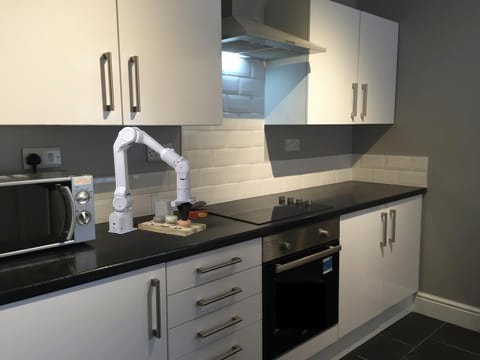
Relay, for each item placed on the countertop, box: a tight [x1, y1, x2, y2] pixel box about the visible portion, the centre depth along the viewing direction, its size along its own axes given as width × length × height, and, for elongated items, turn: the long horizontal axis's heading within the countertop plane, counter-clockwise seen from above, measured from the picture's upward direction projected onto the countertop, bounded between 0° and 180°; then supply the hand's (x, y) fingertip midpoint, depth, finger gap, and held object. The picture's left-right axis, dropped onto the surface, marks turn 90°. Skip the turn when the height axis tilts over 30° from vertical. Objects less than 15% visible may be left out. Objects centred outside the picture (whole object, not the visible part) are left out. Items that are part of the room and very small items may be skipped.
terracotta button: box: [178, 218, 192, 226], centre depth 179 cm, size 5×5×2 cm
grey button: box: [152, 216, 165, 223], centre depth 186 cm, size 5×5×2 cm
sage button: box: [166, 214, 179, 223], centre depth 182 cm, size 5×5×2 cm
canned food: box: [188, 200, 209, 219], centre depth 208 cm, size 11×10×10 cm
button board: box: [137, 219, 207, 237], centre depth 182 cm, size 14×26×2 cm, turn 59°
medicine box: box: [154, 198, 174, 219], centre depth 205 cm, size 8×4×9 cm, turn 59°
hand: (184, 220), depth 178 cm, fingers closed, pressing on terracotta button
